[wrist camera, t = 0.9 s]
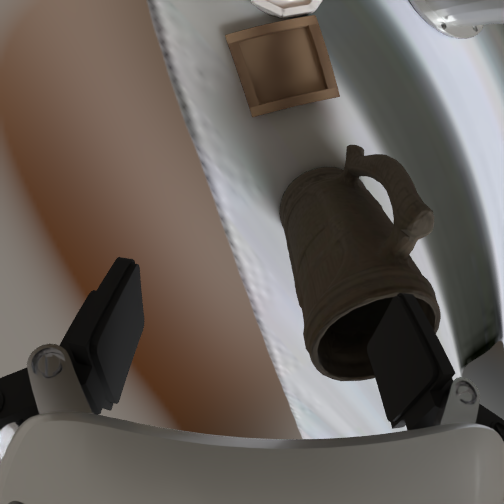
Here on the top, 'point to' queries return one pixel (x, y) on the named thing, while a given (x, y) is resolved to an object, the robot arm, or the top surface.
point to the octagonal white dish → (287, 7)
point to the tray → (283, 64)
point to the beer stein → (353, 257)
